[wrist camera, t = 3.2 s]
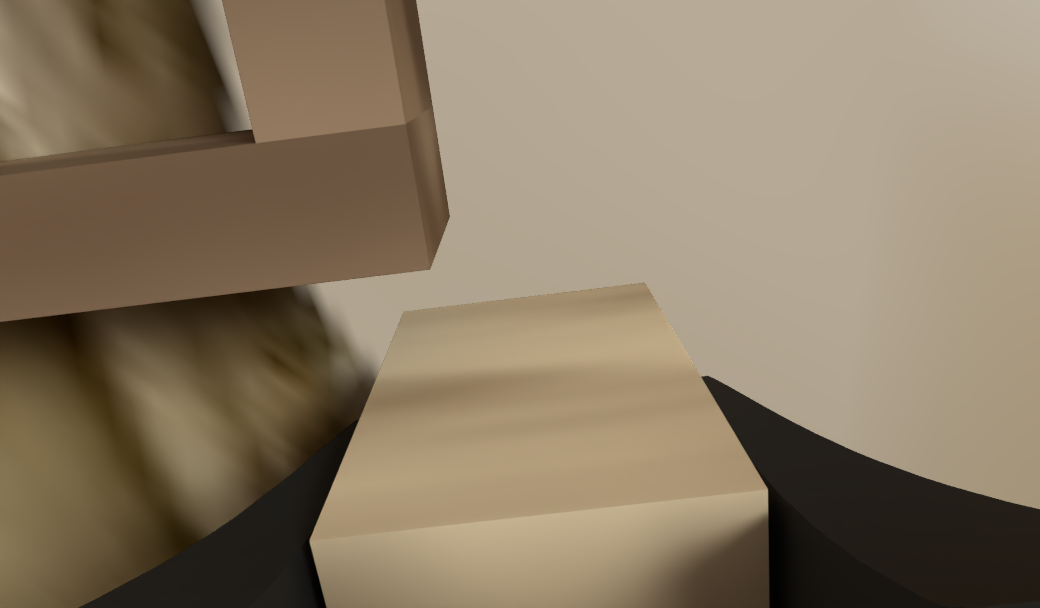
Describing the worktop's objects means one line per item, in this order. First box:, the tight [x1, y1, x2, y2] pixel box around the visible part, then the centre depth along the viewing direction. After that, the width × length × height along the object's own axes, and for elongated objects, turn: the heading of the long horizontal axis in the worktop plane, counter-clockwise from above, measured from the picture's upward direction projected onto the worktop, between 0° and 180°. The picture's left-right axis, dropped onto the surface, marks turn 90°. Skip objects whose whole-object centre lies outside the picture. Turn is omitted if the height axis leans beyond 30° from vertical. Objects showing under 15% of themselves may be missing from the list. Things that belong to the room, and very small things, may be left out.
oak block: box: [310, 283, 769, 608], centre depth 10 cm, size 4×4×6 cm
